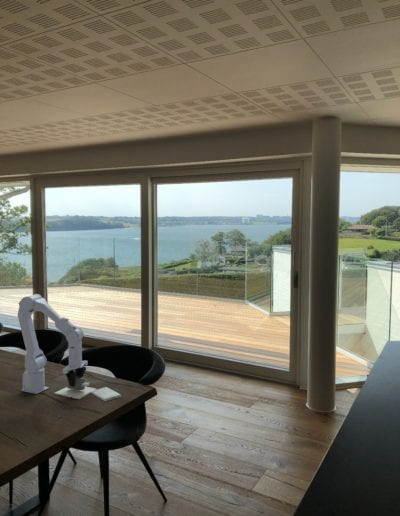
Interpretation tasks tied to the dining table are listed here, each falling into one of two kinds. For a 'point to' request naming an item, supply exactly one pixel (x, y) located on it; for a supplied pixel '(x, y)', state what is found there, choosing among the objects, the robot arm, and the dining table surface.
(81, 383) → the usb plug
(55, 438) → the dining table surface
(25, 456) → the dining table surface
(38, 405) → the dining table surface
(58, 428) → the dining table surface
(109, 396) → the hard drive
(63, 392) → the rubber mat
